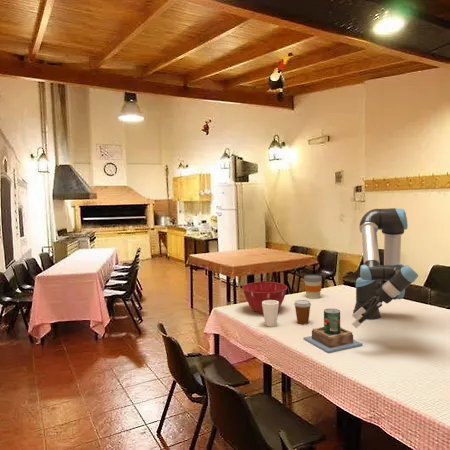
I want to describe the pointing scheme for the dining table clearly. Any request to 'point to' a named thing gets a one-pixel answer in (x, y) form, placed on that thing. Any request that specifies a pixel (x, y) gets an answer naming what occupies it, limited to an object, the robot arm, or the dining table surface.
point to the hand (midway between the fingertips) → (354, 321)
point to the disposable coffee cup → (302, 311)
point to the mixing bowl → (263, 293)
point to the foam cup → (270, 312)
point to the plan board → (332, 349)
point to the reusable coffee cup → (312, 286)
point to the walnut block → (332, 337)
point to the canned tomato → (332, 321)
